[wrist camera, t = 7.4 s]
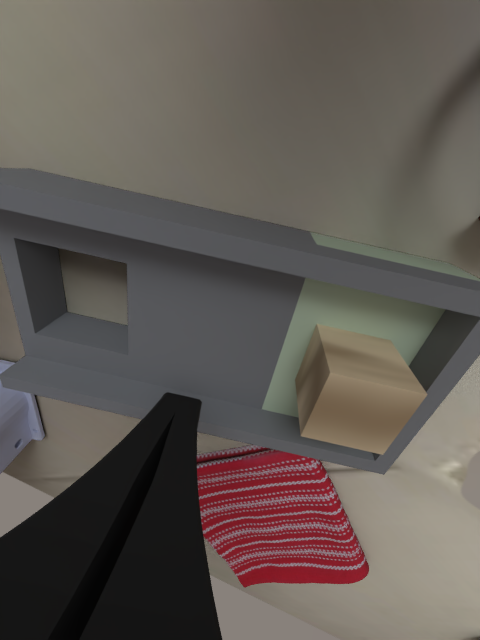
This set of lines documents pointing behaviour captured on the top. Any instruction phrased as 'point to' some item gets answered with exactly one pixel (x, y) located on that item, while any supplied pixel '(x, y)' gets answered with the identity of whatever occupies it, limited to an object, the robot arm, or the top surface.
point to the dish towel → (276, 518)
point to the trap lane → (218, 311)
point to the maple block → (355, 390)
